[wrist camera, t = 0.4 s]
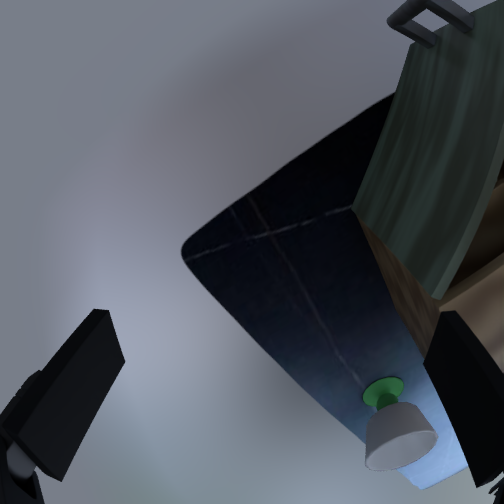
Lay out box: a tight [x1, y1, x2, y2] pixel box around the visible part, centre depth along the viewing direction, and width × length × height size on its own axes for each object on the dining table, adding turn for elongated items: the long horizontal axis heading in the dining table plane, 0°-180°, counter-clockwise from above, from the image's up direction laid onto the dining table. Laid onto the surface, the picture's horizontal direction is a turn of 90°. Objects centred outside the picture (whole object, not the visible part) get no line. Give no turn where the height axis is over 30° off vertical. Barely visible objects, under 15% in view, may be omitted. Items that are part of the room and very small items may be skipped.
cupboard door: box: [351, 0, 504, 300], centre depth 24 cm, size 7×26×24 cm, turn 161°
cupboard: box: [356, 159, 504, 374], centre depth 28 cm, size 18×26×24 cm
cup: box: [363, 377, 438, 471], centre depth 45 cm, size 14×14×16 cm
